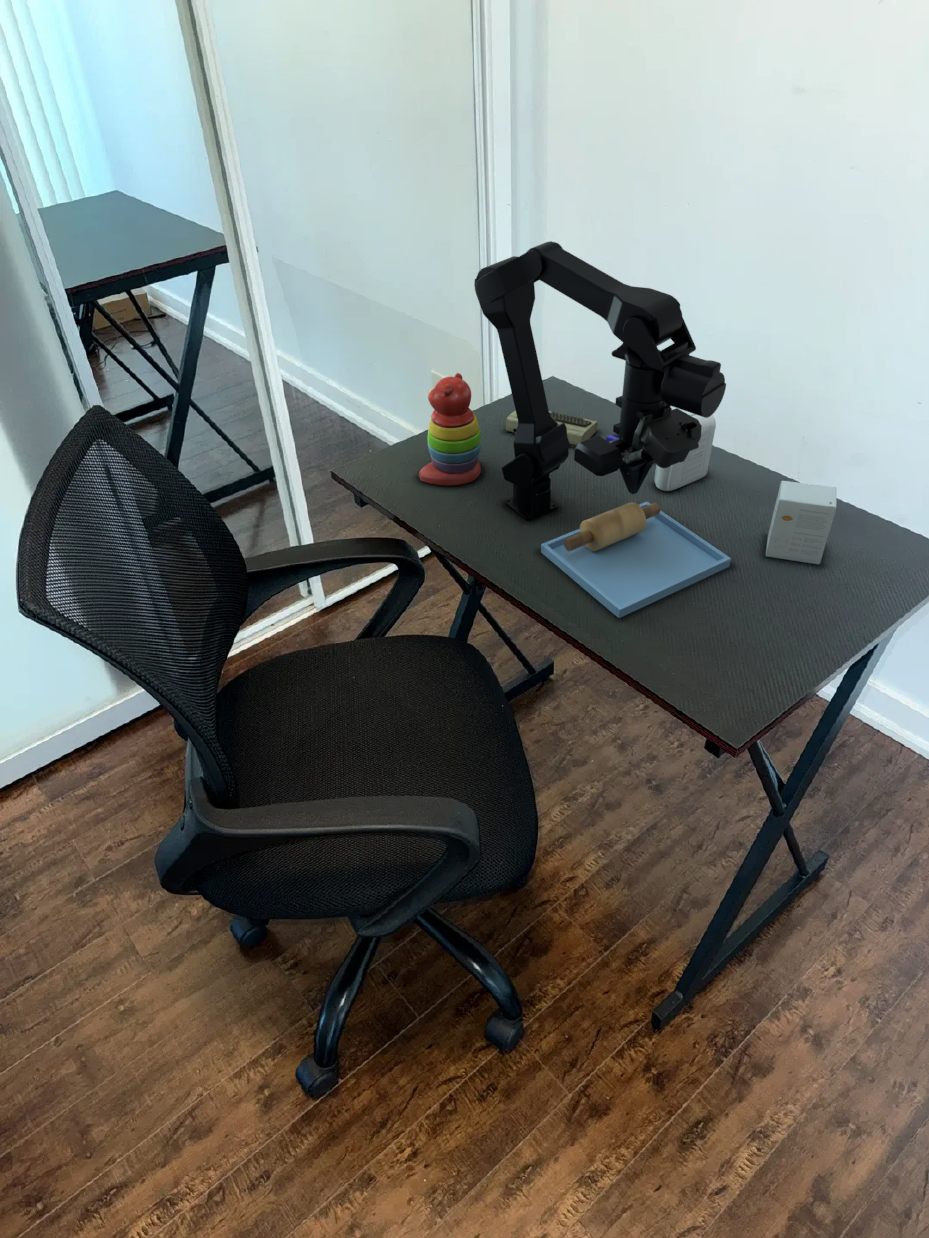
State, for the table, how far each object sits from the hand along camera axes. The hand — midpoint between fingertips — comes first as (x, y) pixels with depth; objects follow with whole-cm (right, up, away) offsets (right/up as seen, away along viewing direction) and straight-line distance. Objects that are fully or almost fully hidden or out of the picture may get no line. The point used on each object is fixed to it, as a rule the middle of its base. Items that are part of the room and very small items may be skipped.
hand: (632, 492), depth 121 cm
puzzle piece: (+7, +12, +30) cm, 34 cm away
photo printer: (+13, +5, +22) cm, 26 cm away
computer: (-8, +17, +37) cm, 41 cm away
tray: (+1, -9, +5) cm, 11 cm away
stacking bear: (-27, +8, +27) cm, 39 cm away
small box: (+26, -8, +6) cm, 28 cm away
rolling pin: (-2, -6, +9) cm, 11 cm away
